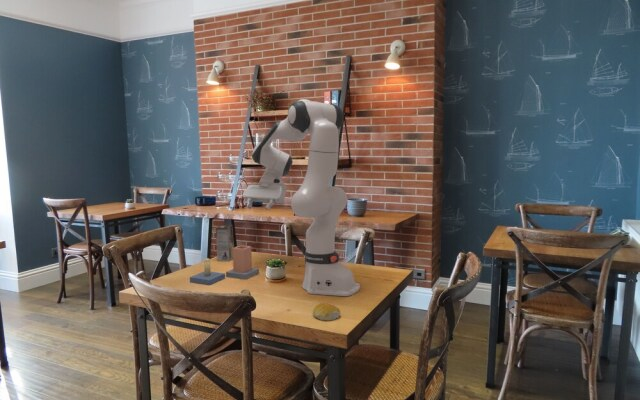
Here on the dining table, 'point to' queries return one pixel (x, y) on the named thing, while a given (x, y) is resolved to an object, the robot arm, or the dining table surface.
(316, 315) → the bread roll
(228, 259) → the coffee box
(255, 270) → the stand
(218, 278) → the peg base
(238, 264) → the sleeve
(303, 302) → the dining table surface
